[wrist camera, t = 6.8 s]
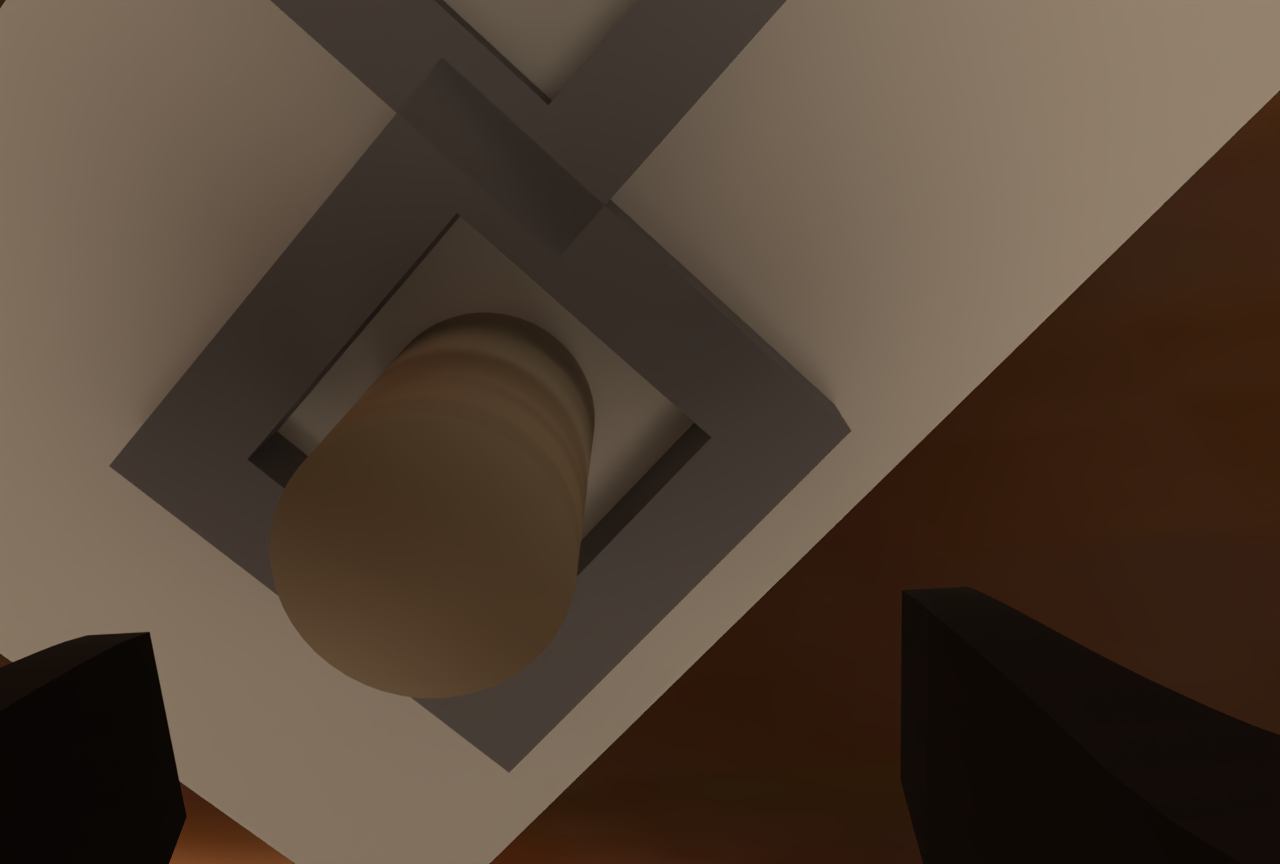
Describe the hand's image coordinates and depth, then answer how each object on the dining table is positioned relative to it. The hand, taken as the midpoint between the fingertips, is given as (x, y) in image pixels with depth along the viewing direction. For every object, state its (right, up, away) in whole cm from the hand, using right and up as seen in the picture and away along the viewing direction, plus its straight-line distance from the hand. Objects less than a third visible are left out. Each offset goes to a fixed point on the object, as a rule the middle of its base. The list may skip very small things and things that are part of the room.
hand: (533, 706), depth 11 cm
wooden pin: (-1, +3, +8) cm, 9 cm away
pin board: (-2, +6, +8) cm, 10 cm away
